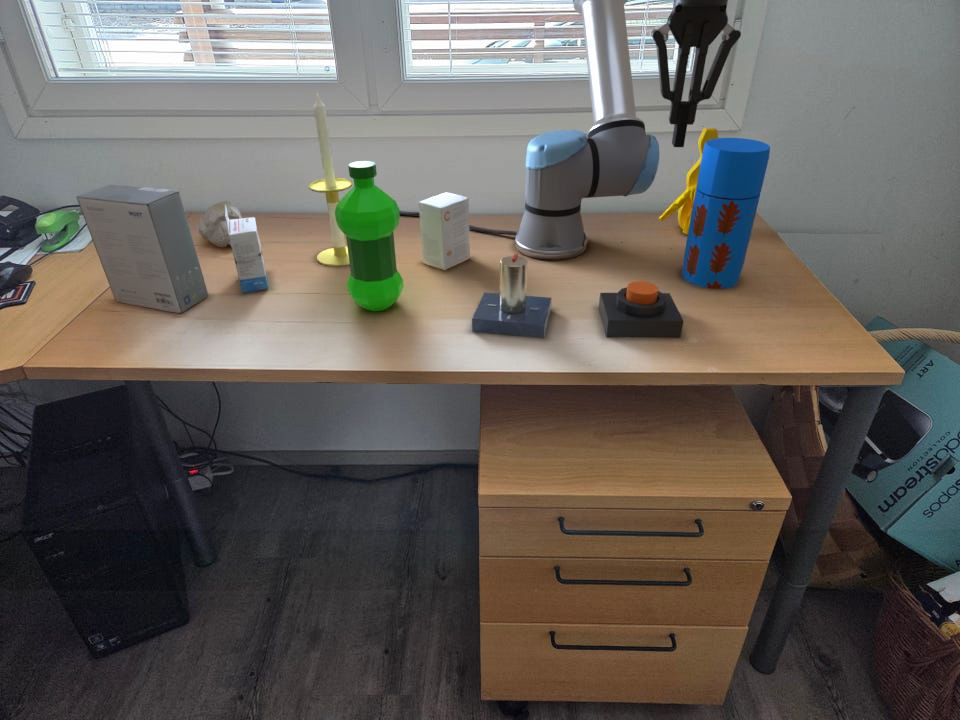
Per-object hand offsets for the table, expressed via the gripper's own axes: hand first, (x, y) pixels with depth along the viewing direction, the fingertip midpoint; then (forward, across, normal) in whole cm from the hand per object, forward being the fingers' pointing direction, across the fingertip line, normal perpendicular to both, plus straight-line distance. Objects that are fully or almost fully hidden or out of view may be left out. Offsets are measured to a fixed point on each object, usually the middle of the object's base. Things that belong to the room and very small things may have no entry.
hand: (677, 145), depth 100 cm
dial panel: (+26, +26, +14) cm, 39 cm away
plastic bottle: (+27, +50, +11) cm, 58 cm away
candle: (+27, +64, -10) cm, 70 cm away
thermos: (+27, -11, -7) cm, 30 cm away
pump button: (+22, +4, +13) cm, 26 cm away
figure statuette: (+27, -13, -32) cm, 44 cm away
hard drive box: (+27, +90, +13) cm, 95 cm away
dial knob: (+24, +25, +14) cm, 38 cm away
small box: (+27, +41, -10) cm, 50 cm away
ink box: (+27, +76, +4) cm, 81 cm away
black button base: (+26, +4, +13) cm, 30 cm away
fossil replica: (+27, +92, -16) cm, 97 cm away
